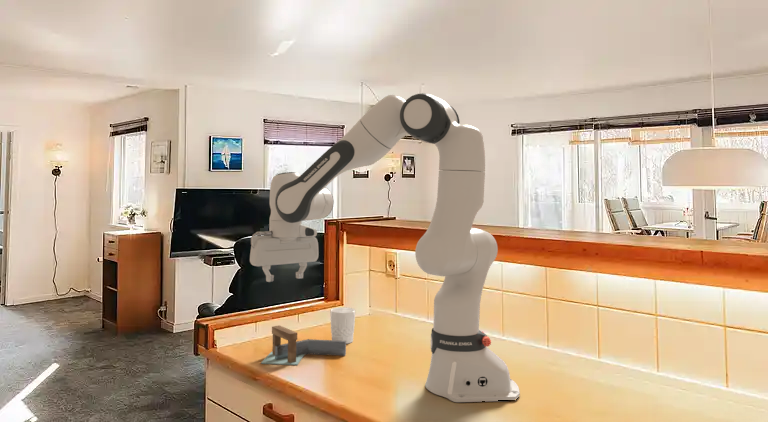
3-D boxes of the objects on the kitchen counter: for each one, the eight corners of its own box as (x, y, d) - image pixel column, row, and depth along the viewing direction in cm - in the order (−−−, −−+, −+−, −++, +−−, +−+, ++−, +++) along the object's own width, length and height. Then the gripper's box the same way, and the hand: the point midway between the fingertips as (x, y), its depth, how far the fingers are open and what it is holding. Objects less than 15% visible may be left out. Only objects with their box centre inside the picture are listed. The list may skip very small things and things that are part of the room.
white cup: (356, 338, 170) (357, 307, 170) (352, 345, 162) (353, 313, 162) (332, 337, 171) (333, 306, 171) (327, 344, 163) (328, 312, 163)
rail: (345, 354, 153) (346, 340, 153) (341, 363, 145) (341, 349, 145) (282, 351, 155) (282, 338, 154) (274, 360, 146) (274, 346, 146)
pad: (305, 354, 153) (305, 353, 153) (297, 365, 143) (297, 364, 143) (271, 352, 153) (271, 351, 153) (260, 363, 143) (261, 362, 143)
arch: (278, 352, 152) (279, 325, 152) (296, 361, 145) (297, 332, 145) (271, 354, 151) (271, 326, 151) (289, 363, 143) (289, 334, 143)
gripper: (256, 232, 138) (256, 285, 138) (321, 230, 151) (321, 278, 151) (245, 231, 142) (245, 281, 143) (309, 228, 156) (309, 275, 156)
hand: (285, 279), depth 147 cm, fingers open, 8 cm apart
